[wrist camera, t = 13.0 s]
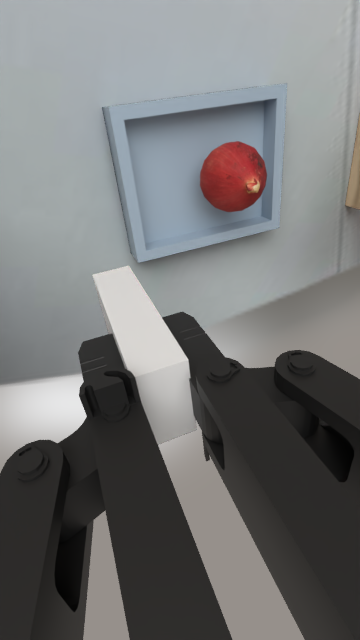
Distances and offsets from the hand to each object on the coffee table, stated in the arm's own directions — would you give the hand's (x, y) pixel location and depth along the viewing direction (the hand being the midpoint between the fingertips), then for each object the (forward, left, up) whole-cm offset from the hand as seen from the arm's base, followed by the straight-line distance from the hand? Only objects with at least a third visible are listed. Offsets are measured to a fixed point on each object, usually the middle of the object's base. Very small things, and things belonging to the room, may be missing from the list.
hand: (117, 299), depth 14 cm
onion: (+14, 0, -20) cm, 25 cm away
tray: (+12, 0, -21) cm, 24 cm away
